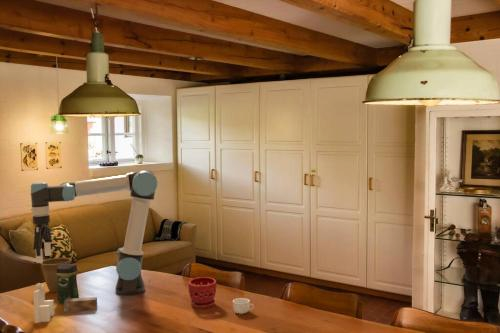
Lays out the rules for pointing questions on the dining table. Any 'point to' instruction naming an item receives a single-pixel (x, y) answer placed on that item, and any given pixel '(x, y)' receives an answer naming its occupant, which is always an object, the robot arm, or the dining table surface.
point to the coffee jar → (67, 282)
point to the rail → (80, 304)
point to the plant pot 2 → (202, 292)
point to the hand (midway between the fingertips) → (44, 259)
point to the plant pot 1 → (52, 272)
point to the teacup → (241, 305)
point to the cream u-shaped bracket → (42, 305)
